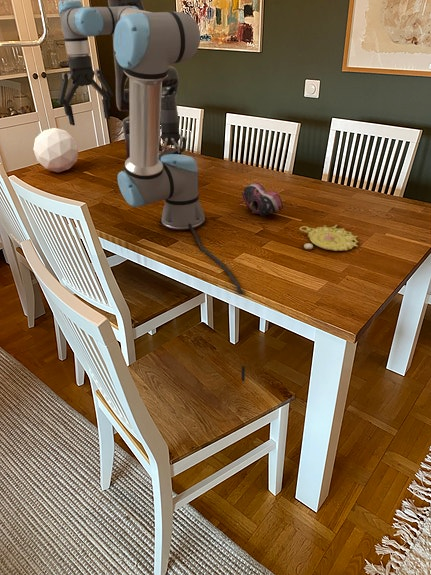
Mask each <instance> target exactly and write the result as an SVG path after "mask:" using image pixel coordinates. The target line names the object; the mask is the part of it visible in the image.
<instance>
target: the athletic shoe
mask: <svg viewBox="0 0 431 575" xmlns="http://www.w3.org/2000/svg"><path fill="white" fill-rule="evenodd" d="M241 197H242V199H243V201H238V203H239V204H241V205H245V206H246V207H247V208H248V210H249V211H250V210H251V213H252V214H255V215H260V217H266V216H267V215H270V214H274V213H275V212H279V211H282V210H283V209H284V205H283V201H282V198H281V196H280V195H279V194H278V192H277V191H274V190H269V191H267V190H266V189H265V187H264V186H263V185H262V184H261V183H258V182H251V183H249V184H247V186H246V187H245V188H244V190H243V191H242V192H241Z"/></svg>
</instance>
